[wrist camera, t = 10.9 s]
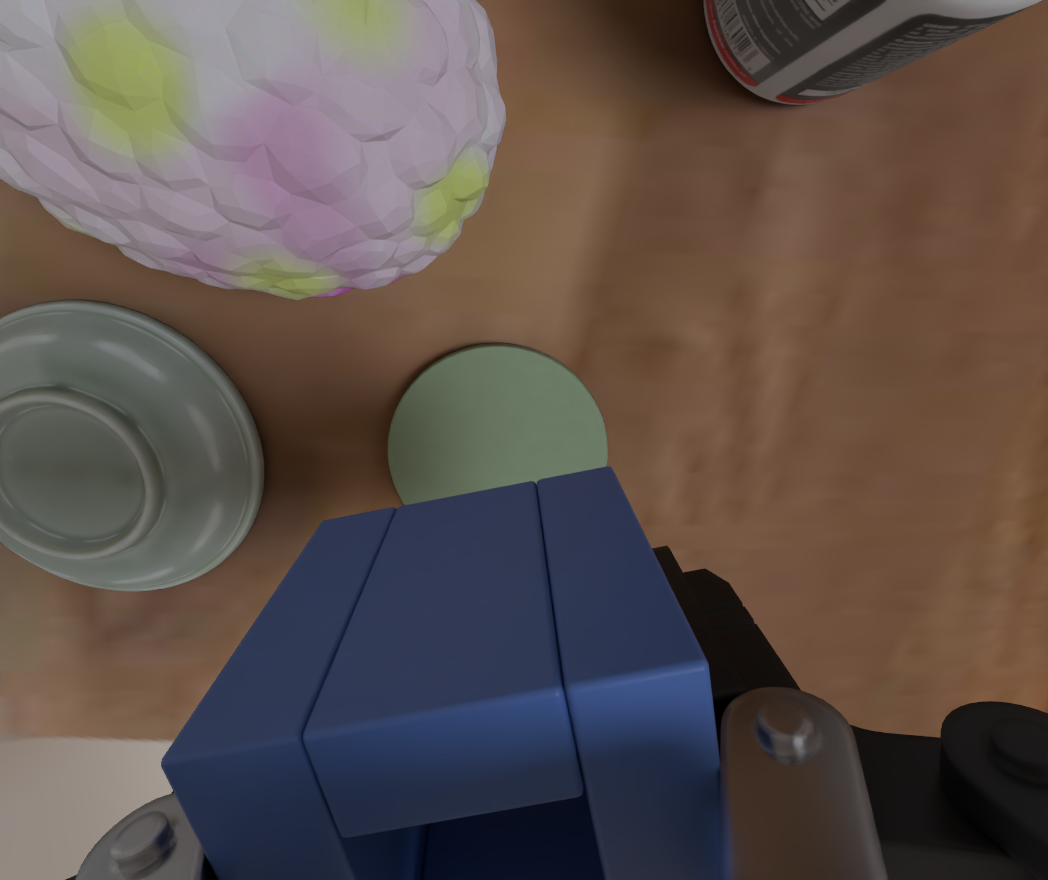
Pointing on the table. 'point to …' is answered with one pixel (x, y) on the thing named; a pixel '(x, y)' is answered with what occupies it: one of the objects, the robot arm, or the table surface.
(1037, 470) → the table surface
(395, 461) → the coaster
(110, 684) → the table surface
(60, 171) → the decorative item
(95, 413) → the saucer
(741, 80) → the pill bottle
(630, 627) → the blue block
